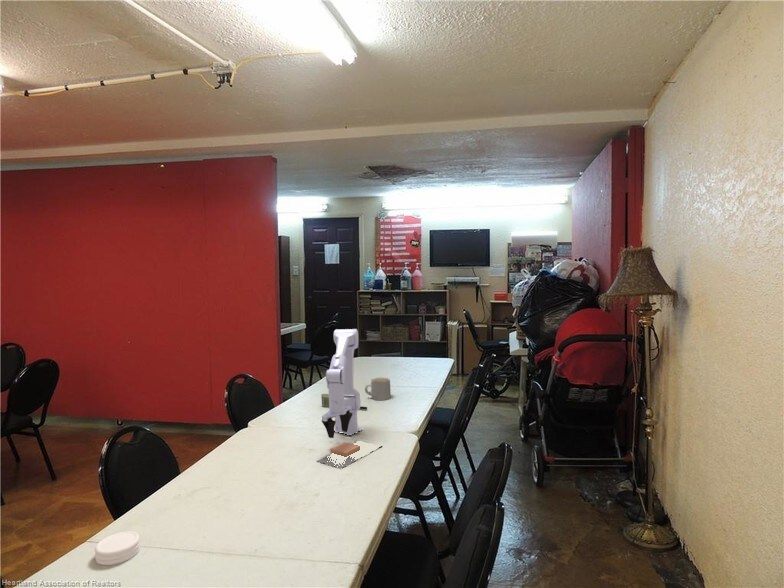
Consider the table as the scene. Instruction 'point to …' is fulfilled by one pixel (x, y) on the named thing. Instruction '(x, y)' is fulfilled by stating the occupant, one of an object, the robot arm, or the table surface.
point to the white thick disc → (117, 548)
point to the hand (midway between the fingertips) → (338, 434)
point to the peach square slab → (345, 449)
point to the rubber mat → (325, 459)
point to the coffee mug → (379, 389)
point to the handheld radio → (326, 401)
